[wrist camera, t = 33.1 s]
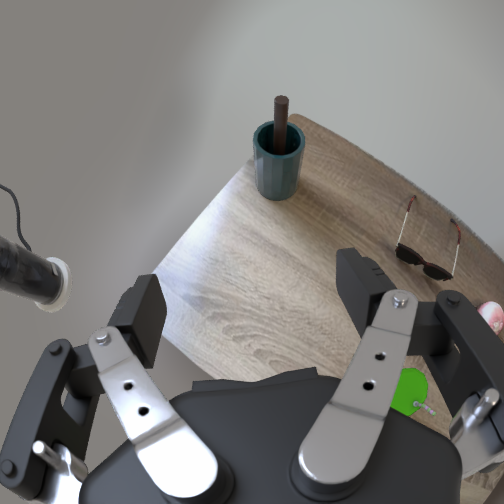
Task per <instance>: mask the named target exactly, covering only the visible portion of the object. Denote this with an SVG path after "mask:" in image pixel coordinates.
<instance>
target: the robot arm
mask: <svg viewBox="0 0 504 504" xmlns="http://www.w3.org/2000/svg"><path fill="white" fill-rule="evenodd" d="M0 188H1V189H3V190H5V191H7V192H8V193H10V194H11V196H12V198H13V200H14V202H15V206H16V212H17V231H18V236H19V238H20V240H21V242H22V243H23V244H24V245H25V247H26V248H27V249H25V248H23V247H21V246H20V245H18V244H16V243H14V242H12V241H10V240H9V239H7V238H5V237H3V236H1V235H0V290H1V291H4V292H7V293H10V294H13V295H16V296H19V297H23V298H26V299H29V300H32V301H35V302H38V303H41V304H44V305H51V304H53V303H54V302H55V301H56V300H57V299H58V298H59V296H60V294H61V292H62V289H63V283H64V278H63V273H62V270H61V268H60V267H59V266H58V265H57V264H55V263H53V262H50V261H48V260H46V259H44V258H42V257H40V256H38V255H37V254H35V253H33V252H32V251H31V248H30V246H29V245H28V244H27V242H26V241H25V240H24V238H23V236H22V234H21V230H20V210H19V206H18V202H17V199H16V197H15V195H14V193H13V192H12V191H11V190H10V189H8V188H6V187H4V186H2V185H0ZM336 287H337V291H338V294H339V296H340V298H341V300H342V302H343V304H344V305H345V307H346V309H347V311H348V313H349V315H350V317H351V319H352V321H353V323H354V325H355V327H356V329H357V331H358V333H359V335H360V337H361V341H360V343H359V345H358V348H357V350H356V352H355V354H354V356H353V358H352V360H351V362H350V364H349V366H348V368H347V370H346V372H345V374H344V376H343V378H342V379H339V378H336V377H331V376H323V375H318V373H317V370H316V367H311V368H305V369H300V370H293V371H287V372H283V373H281V374H278V375H275V376H272V377H269V378H266V379H263V380H260V381H257V382H244V381H234V380H225V379H218V380H205V381H193V386H192V390H191V391H188V392H185V393H182V394H180V395H178V396H176V397H174V398H173V399H171V400H169V401H167V399H166V398H165V397H164V395H163V394H162V392H161V391H160V390H159V388H158V387H157V386H156V384H155V383H154V382H153V381H152V379H151V378H150V376H149V374H148V373H147V371H146V370H145V369H150V368H153V365H154V361H155V357H156V353H157V350H158V346H159V342H160V338H161V334H162V330H163V327H164V323H165V319H166V316H167V307H166V302H165V299H164V296H163V293H162V290H161V287H160V284H159V281H158V278H157V276H156V274H149V275H141V276H139V277H138V278H137V280H136V282H135V284H134V286H133V287H130V288H129V289H128V290H127V291H126V292H125V293H124V294H123V295H122V297H121V299H120V300H119V303H118V304H117V306H116V309H115V310H114V312H113V314H112V317H111V318H110V321H109V323H108V325H107V326H106V327H103V328H100V329H98V330H96V331H95V332H94V333H92V335H91V336H90V337H89V339H88V344H85V345H81V346H78V347H74V348H73V347H72V345H71V344H70V342H69V341H68V340H66V339H58V340H56V341H54V342H52V343H50V344H49V345H48V346H47V347H46V348H45V350H44V352H43V354H42V356H41V358H40V360H39V361H38V364H37V365H36V368H35V370H34V372H33V374H32V376H31V378H30V380H29V382H28V384H27V386H26V389H25V391H24V393H23V396H22V398H21V400H20V402H19V405H18V407H17V410H16V412H15V414H14V417H13V419H12V422H11V425H10V427H9V430H8V433H7V435H6V438H5V441H4V444H3V447H2V450H1V453H0V483H1V484H2V485H3V486H4V487H6V488H7V489H9V490H11V491H12V492H14V493H15V494H17V495H18V496H19V497H20V498H22V499H23V500H25V501H27V502H28V503H30V504H460V486H461V480H463V479H465V478H466V477H468V476H470V475H472V474H474V473H476V472H480V473H488V472H491V471H493V470H494V469H495V468H497V467H498V466H499V465H500V464H501V463H503V462H504V344H503V343H502V341H501V340H500V339H499V337H498V336H497V335H496V333H495V332H494V331H493V329H492V328H491V327H490V326H489V324H488V323H487V322H486V321H485V319H484V318H483V317H482V316H481V314H480V313H479V312H478V311H477V310H476V308H475V307H474V306H473V305H472V304H471V302H470V301H469V300H468V299H467V298H466V297H465V296H464V295H463V294H461V293H460V292H457V291H454V290H444V291H441V292H440V293H439V294H438V295H437V299H436V302H418V300H417V298H416V296H415V295H414V294H412V293H411V292H409V291H406V290H401V289H397V288H396V286H395V285H394V284H393V283H392V281H391V280H390V279H389V278H388V276H387V275H386V274H385V273H384V271H383V270H382V269H380V267H379V265H378V264H377V263H376V262H375V261H373V260H372V259H370V258H368V257H362V256H361V255H360V254H359V253H358V251H357V250H356V249H355V248H346V249H339V250H338V251H337V257H336ZM454 344H456V345H457V347H458V348H459V351H460V353H459V352H458V350H457V349H456V347H455V346H454ZM413 355H422V357H423V359H424V360H425V362H426V364H427V366H428V368H429V370H430V372H431V374H432V376H433V378H434V380H435V382H436V384H437V386H438V388H439V390H440V392H441V394H442V396H443V398H444V400H445V402H446V405H447V407H448V409H449V411H450V413H451V415H452V418H453V419H452V421H451V423H450V425H449V434H450V440H449V439H448V438H447V437H445V436H443V435H442V434H440V433H438V432H436V431H434V430H432V429H430V428H428V427H427V426H425V425H423V424H421V423H419V422H417V421H415V420H414V419H412V418H410V417H408V416H406V415H405V414H403V413H401V412H399V411H397V410H396V409H394V408H392V407H390V405H391V402H392V399H393V396H394V394H395V391H396V388H397V384H398V381H399V378H400V375H401V372H402V368H403V365H404V362H405V358H406V356H413ZM64 387H65V388H66V390H67V391H68V394H67V396H66V400H65V402H64V405H63V407H62V404H61V395H62V392H63V390H64ZM104 393H106V395H107V397H108V399H109V401H110V403H111V405H112V407H113V409H114V411H115V413H116V415H117V417H118V419H119V421H120V423H121V424H122V426H123V428H124V430H125V432H126V434H127V435H128V437H129V438H128V439H127V440H126V441H125V442H124V443H123V444H122V445H121V446H120V447H118V448H117V449H116V450H115V451H114V452H113V453H112V454H111V455H110V456H109V457H108V458H107V459H105V460H104V461H103V462H102V463H101V464H100V465H98V466H97V467H96V468H95V469H94V470H93V471H92V472H90V473H89V474H88V468H87V466H86V464H85V463H84V460H85V455H86V450H87V446H88V441H89V437H90V432H91V428H92V423H93V420H94V415H95V412H96V408H97V404H98V401H99V397H100V394H104Z"/></svg>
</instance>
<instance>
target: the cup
mask: <svg viewBox="0 0 504 504" xmlns="http://www.w3.org/2000/svg"><path fill="white" fill-rule="evenodd" d="M427 390H428V383H427V380H426V378H425V375H424V374H423V373H422V372H420V371H419V370H417V369H416V368H405V369H402V372H401V375H400V378H399V381H398V384H397V388H396V391H395V394H394V396H393V399H392V402H391V405H390V407H392V408H394V409H396V410H397V411H399V412H401V413H403V414H405V415H406V416H410V415H412V414H413V413H414V412H416V411H417V410H418V409H420V408H424V409H425V410H427V411H428V412H429V413H430V414H432V415H433V416H434V415H435V414H436V412H434V411H433V410H432V409H430V408H429V407H428V406H426V405H424V404H423V403H424V401H425V399H426V397H427Z"/></svg>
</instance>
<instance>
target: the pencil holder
mask: <svg viewBox="0 0 504 504" xmlns="http://www.w3.org/2000/svg"><path fill="white" fill-rule="evenodd" d="M273 144H274V121H270V122H266V123H264V124H262V125H261V126H259V127H258V128H257V130H256V131H255V133H254V137H253V148H254V164H255V179H256V186H257V189H258V191H259V192H260V194H261V195H262V196H264V197H265V198H267V199H270V200H274V201H281V200H285V199H288V198H290V197H291V196H292V195H293V194H294V193H295V192H296V190H297V187H298V183H299V177H300V172H301V166H302V160H303V154H304V148H305V136H304V134H303V132H302V130H301V129H300V128H298V127H297V126H296V125H295V124H292V123H290V122H287V133H286V146H285V155H283V156H281V155H273Z"/></svg>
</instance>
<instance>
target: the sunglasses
mask: <svg viewBox="0 0 504 504" xmlns="http://www.w3.org/2000/svg"><path fill="white" fill-rule="evenodd" d="M414 198H416V195H414V196H413V197H412V199H411V201H410V203H409V206H408V209H407V213H406V217H405V220H404V224H405V221H406V218H407V214H408V212H409V210H410V206H411V203H412V201H413V199H414ZM451 221H452V222H453V223H454V224H455V225H456V227H457V228H458V231H459V238H458V247H457V252H456V258H455V263H454V268H453V270H452V275H451V274H450V273H449V272H447V271H446V270H445V269H443V268H441V267H439V266H437V265H435V264H432V263H428V262H426V261H424V260H423V258H422V257H421V256H420V255H419V254H418V253H417V252H415V251H414V250H412V249H411V248H409V247H407V246H405V245H403V244H400V243H399V242H400V239H401V234H402V231H403V227H404V224H403V227H402V230H401V233H400V236H399V239H398V242H397V245H396V247H397V248H396V250H395V252H396V253H395V256H396V257H397V258H398V259H399V260H401V261H402V262H404V263H406V264H414V265H420V264H423V265H424V268H423V271H424V274H425V275H426V276H428V277H429V278H431V279H433V280H437V281H439V280H443V281H446V280H448V279H450V280H452V279H453V274H454V269H455V264H456V259H457V254H458V248H459V244H460V237H461V232H460V228H459V227H458V225H457V224H456V222H455V221H454V220H453V219H451Z"/></svg>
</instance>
